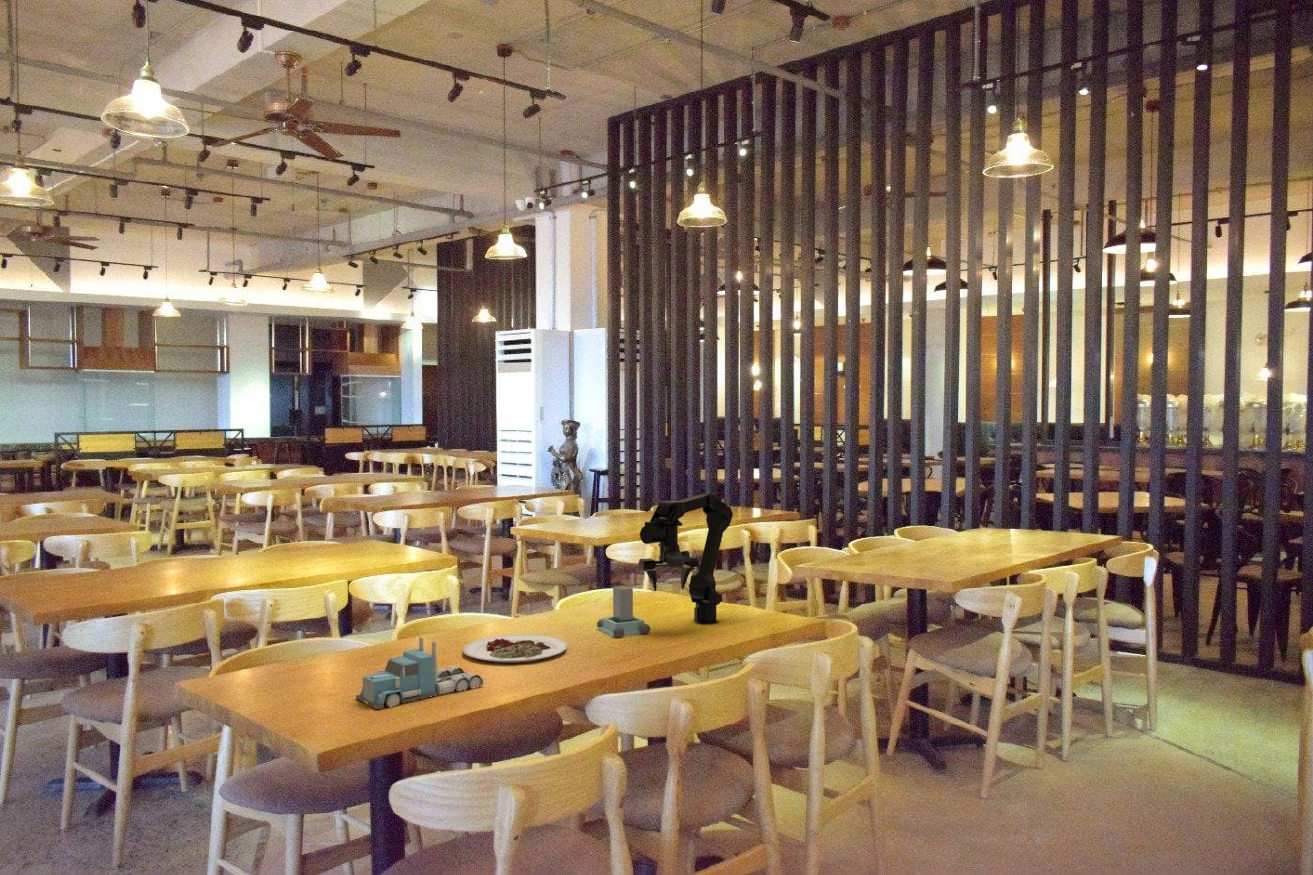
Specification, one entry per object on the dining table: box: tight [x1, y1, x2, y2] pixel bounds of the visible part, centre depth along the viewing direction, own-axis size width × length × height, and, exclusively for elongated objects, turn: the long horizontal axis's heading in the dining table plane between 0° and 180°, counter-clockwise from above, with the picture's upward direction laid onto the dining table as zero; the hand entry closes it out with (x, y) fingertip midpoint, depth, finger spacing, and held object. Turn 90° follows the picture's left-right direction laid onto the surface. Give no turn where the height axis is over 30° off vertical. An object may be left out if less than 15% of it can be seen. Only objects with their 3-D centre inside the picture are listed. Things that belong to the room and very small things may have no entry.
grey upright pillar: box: [612, 585, 634, 623], centre depth 303 cm, size 4×5×13 cm
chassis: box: [596, 615, 651, 639], centre depth 303 cm, size 12×14×4 cm
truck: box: [355, 631, 484, 711], centre depth 238 cm, size 12×29×15 cm, turn 132°
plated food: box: [462, 633, 568, 664], centre depth 279 cm, size 30×30×3 cm
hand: (668, 590), depth 304 cm, fingers open, 9 cm apart
